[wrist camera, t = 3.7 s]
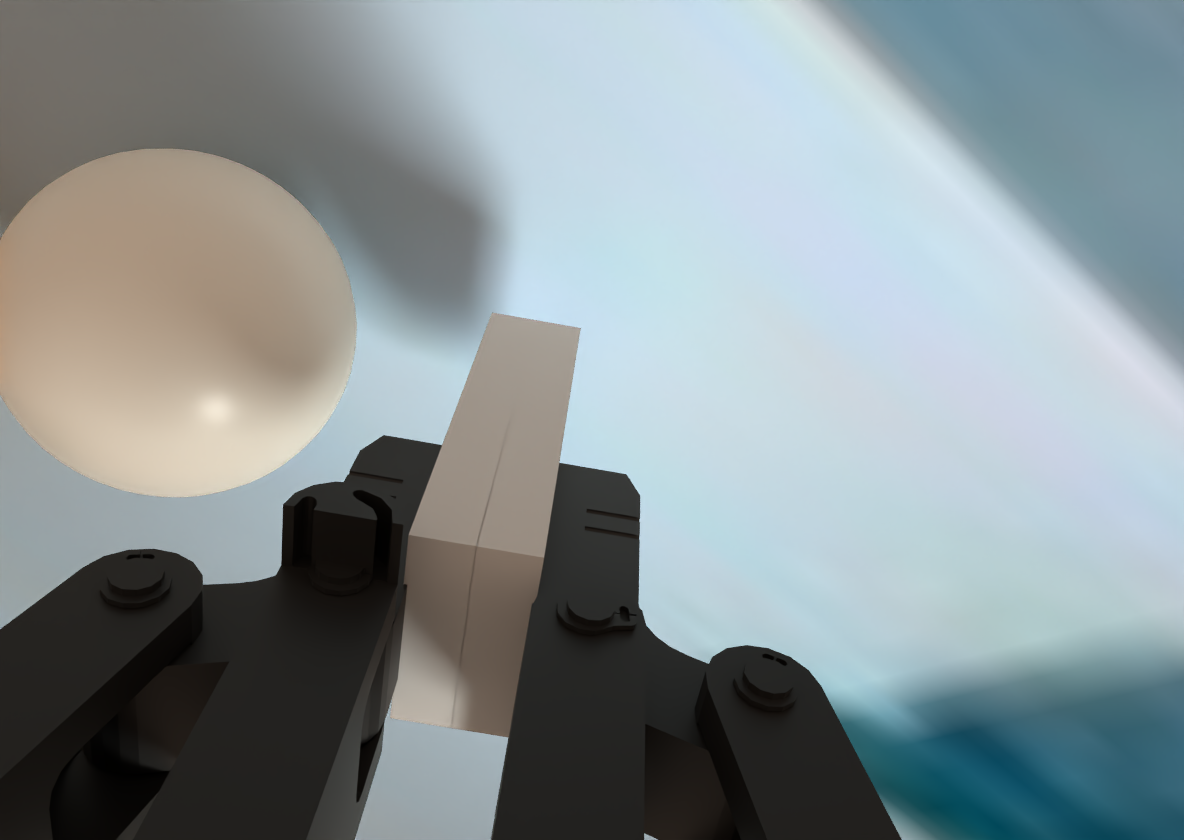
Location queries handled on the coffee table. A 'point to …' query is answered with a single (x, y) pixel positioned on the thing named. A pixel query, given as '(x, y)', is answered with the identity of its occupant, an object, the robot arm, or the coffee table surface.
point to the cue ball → (172, 322)
